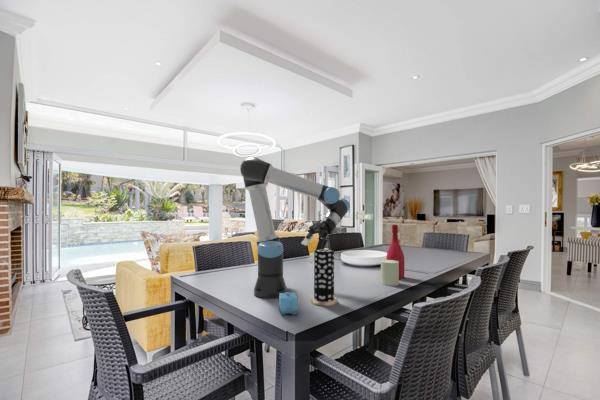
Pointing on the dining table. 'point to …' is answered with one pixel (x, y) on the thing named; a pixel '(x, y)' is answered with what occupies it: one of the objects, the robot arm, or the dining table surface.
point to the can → (389, 272)
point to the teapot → (288, 303)
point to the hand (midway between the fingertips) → (306, 253)
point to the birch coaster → (324, 302)
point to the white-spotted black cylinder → (324, 275)
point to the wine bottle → (396, 251)
